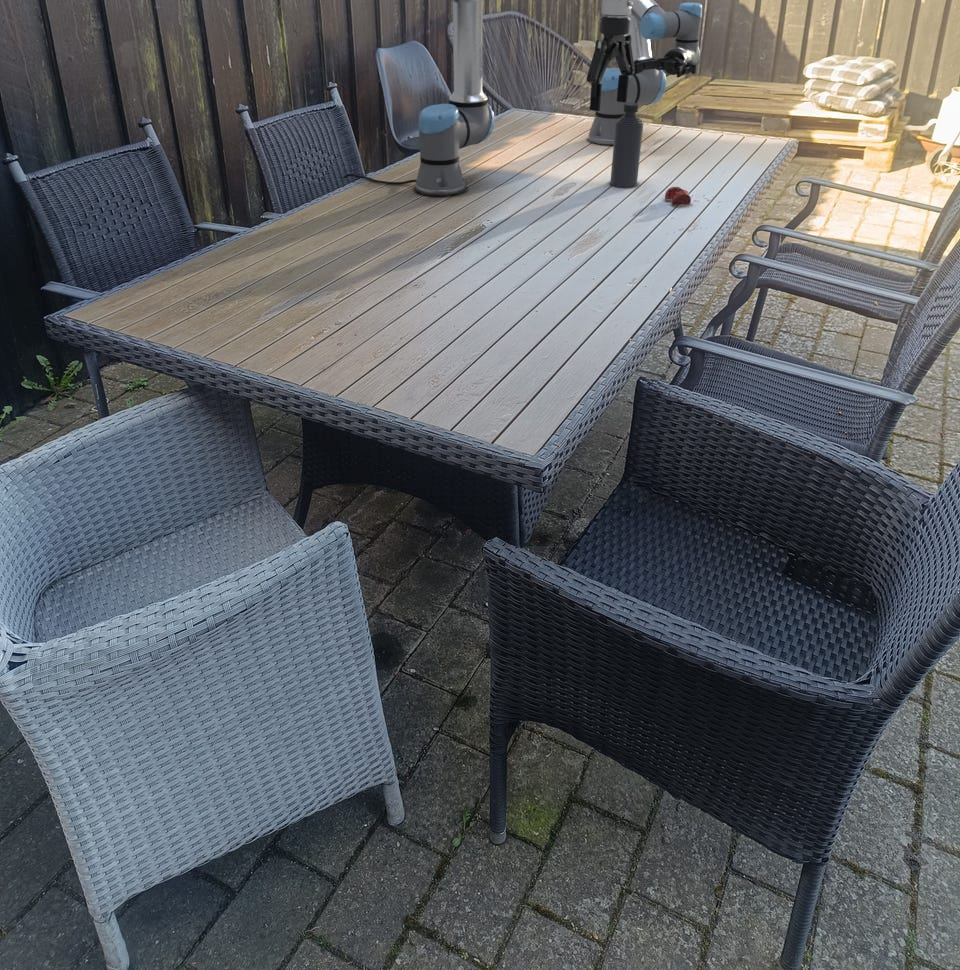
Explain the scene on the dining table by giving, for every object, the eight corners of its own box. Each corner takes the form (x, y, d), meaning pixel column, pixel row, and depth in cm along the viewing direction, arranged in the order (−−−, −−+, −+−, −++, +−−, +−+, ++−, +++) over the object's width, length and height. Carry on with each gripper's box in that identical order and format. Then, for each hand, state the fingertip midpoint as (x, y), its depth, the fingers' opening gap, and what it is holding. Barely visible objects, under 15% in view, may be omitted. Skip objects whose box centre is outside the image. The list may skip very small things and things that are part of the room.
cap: (635, 113, 249) (636, 106, 248) (621, 112, 250) (622, 104, 249) (639, 110, 252) (640, 103, 251) (625, 109, 253) (626, 102, 252)
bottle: (632, 189, 259) (641, 109, 246) (607, 185, 262) (613, 107, 249) (639, 181, 265) (648, 104, 252) (614, 178, 268) (621, 101, 255)
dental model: (681, 182, 249) (693, 190, 243) (680, 196, 252) (692, 205, 246) (664, 184, 248) (675, 192, 242) (662, 199, 251) (674, 207, 245)
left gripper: (602, 22, 204) (595, 116, 216) (653, 12, 219) (644, 100, 232) (576, 19, 207) (570, 112, 220) (628, 10, 223) (620, 96, 236)
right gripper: (712, 76, 273) (694, 87, 258) (639, 70, 283) (617, 81, 267) (716, 50, 269) (698, 60, 253) (641, 45, 278) (619, 54, 263)
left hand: (608, 106), depth 226 cm, fingers open, 13 cm apart
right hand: (656, 70), depth 260 cm, fingers open, 13 cm apart
